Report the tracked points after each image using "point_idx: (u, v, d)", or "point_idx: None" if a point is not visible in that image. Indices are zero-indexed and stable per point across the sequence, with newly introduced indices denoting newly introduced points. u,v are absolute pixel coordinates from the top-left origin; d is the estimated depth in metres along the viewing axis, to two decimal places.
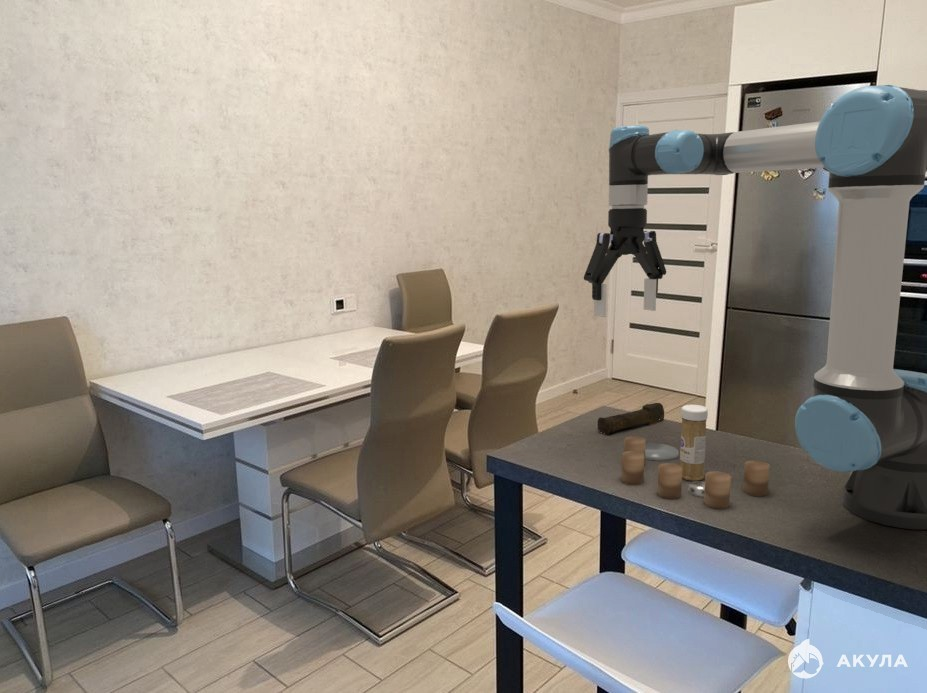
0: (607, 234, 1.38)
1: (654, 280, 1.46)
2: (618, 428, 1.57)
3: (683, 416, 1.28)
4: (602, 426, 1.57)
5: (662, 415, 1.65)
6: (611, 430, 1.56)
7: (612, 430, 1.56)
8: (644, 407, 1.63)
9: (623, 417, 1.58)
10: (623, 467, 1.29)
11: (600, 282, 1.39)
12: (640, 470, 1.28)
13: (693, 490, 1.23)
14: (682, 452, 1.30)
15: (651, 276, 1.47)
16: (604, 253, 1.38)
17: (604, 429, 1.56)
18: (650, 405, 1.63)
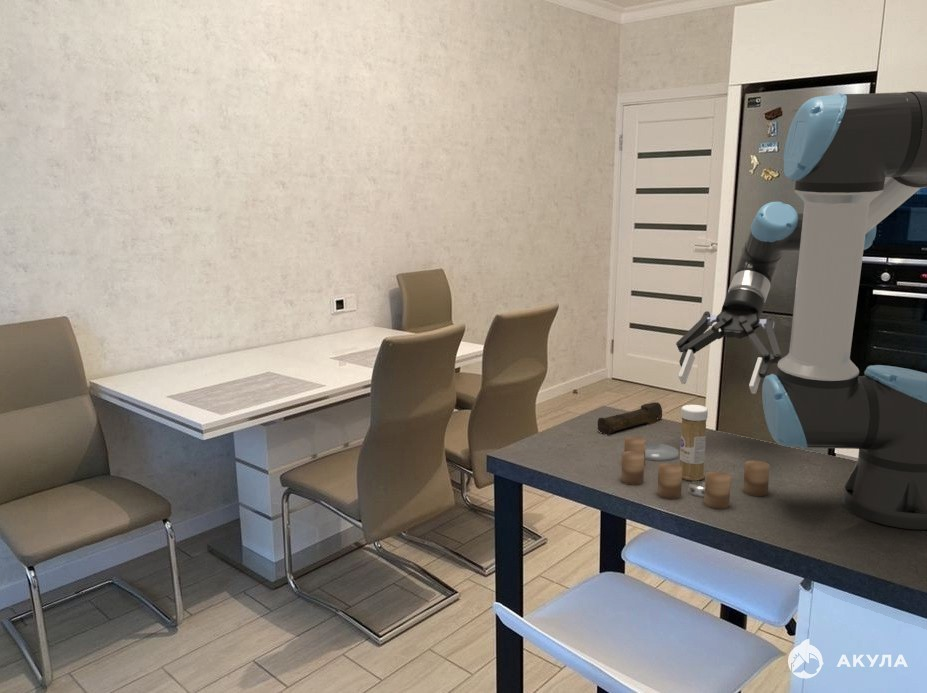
0: (706, 312, 1.46)
1: (759, 358, 1.34)
2: (618, 428, 1.57)
3: (683, 416, 1.28)
4: (603, 427, 1.56)
5: (660, 414, 1.66)
6: (611, 430, 1.56)
7: (612, 430, 1.56)
8: (643, 407, 1.63)
9: (623, 417, 1.58)
10: (623, 467, 1.29)
11: (685, 347, 1.43)
12: (640, 470, 1.28)
13: (693, 490, 1.23)
14: (682, 452, 1.30)
15: None
16: (698, 326, 1.45)
17: (604, 429, 1.56)
18: (648, 405, 1.64)
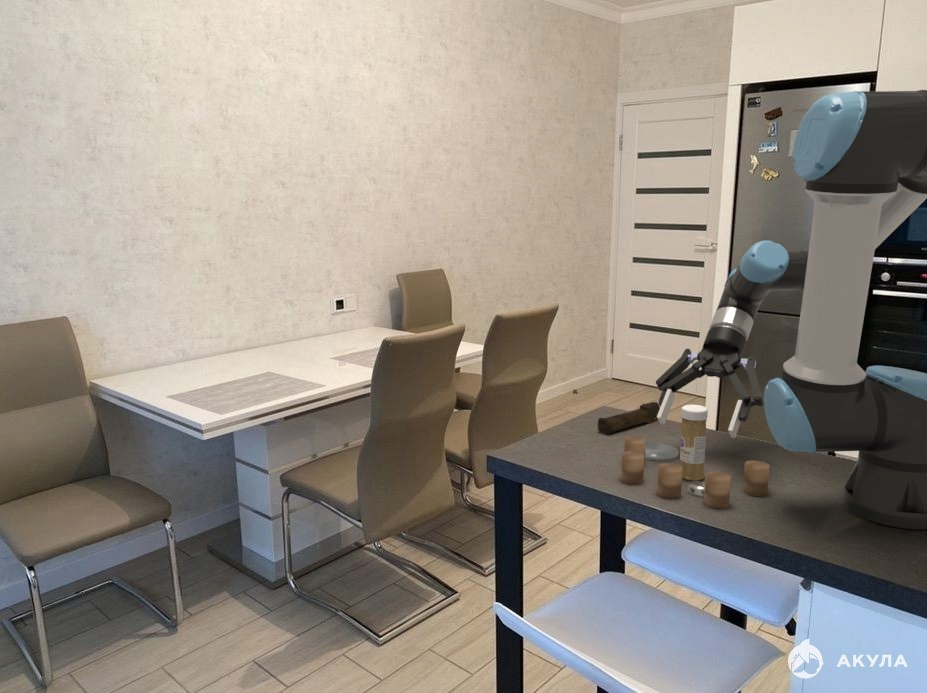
0: (687, 349, 1.42)
1: (739, 400, 1.29)
2: (618, 428, 1.57)
3: (683, 416, 1.28)
4: (603, 427, 1.56)
5: None
6: (612, 430, 1.56)
7: (613, 430, 1.56)
8: (642, 407, 1.63)
9: (623, 417, 1.58)
10: (623, 467, 1.29)
11: (664, 386, 1.39)
12: (640, 470, 1.28)
13: (693, 490, 1.23)
14: (682, 452, 1.30)
15: None
16: (678, 364, 1.41)
17: (605, 429, 1.56)
18: (647, 404, 1.64)
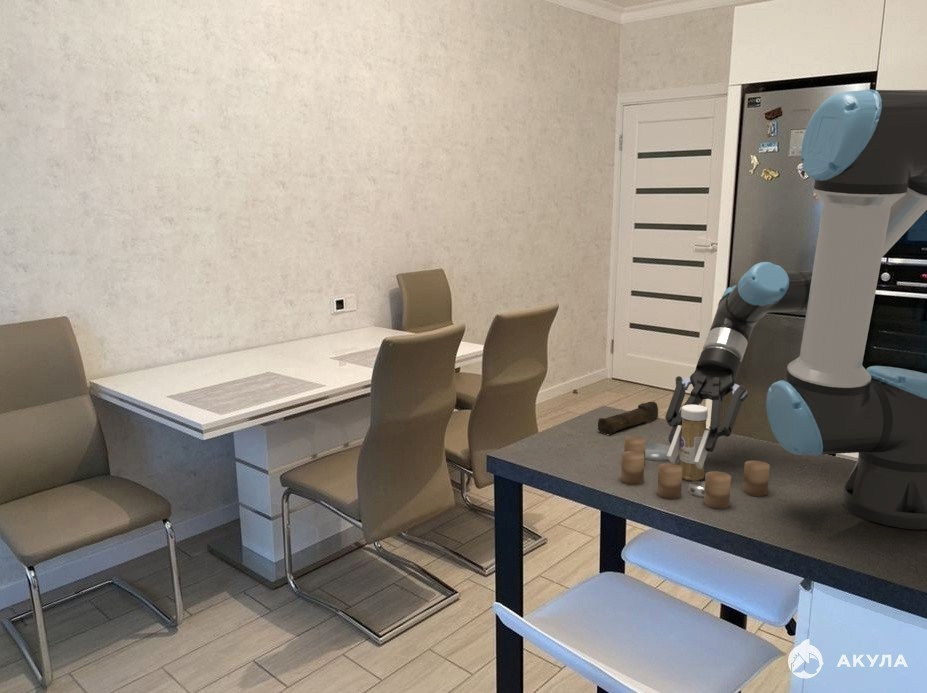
0: (677, 377, 1.37)
1: (705, 431, 1.28)
2: (618, 428, 1.57)
3: (683, 416, 1.28)
4: (603, 427, 1.56)
5: (656, 414, 1.67)
6: (612, 430, 1.56)
7: (613, 430, 1.56)
8: (640, 406, 1.64)
9: (623, 417, 1.58)
10: (623, 467, 1.29)
11: (675, 423, 1.32)
12: (640, 470, 1.28)
13: (693, 490, 1.23)
14: (682, 452, 1.30)
15: None
16: (677, 393, 1.35)
17: (605, 430, 1.56)
18: (645, 404, 1.65)
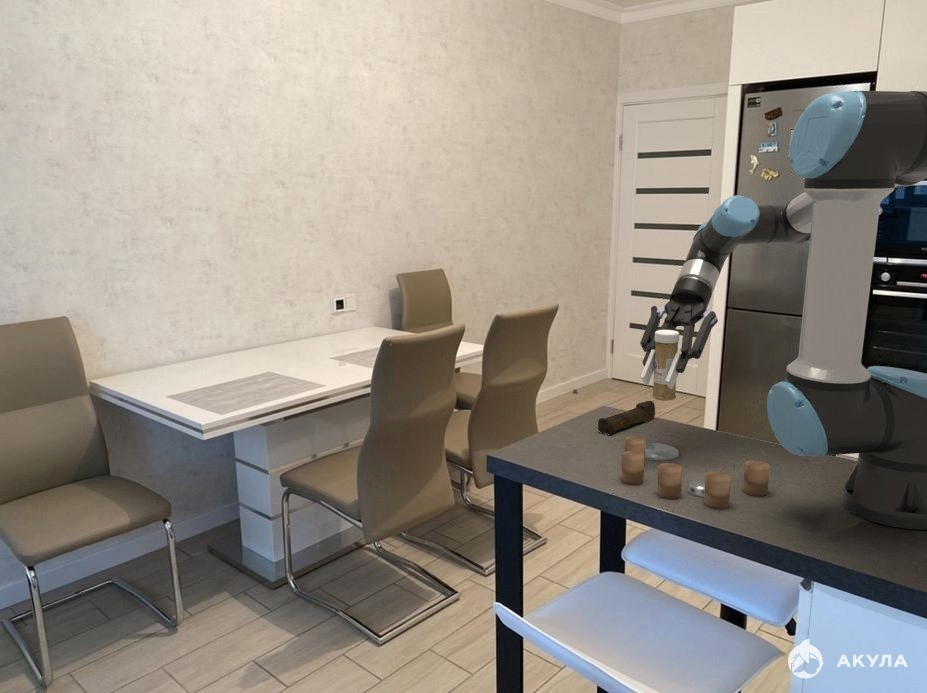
0: (653, 306, 1.45)
1: (677, 353, 1.36)
2: (618, 428, 1.57)
3: (656, 339, 1.36)
4: (604, 427, 1.56)
5: (653, 413, 1.67)
6: (613, 430, 1.56)
7: (614, 430, 1.56)
8: (638, 406, 1.64)
9: (622, 417, 1.58)
10: (623, 467, 1.29)
11: (649, 347, 1.40)
12: (640, 470, 1.28)
13: (693, 490, 1.23)
14: (655, 374, 1.38)
15: None
16: (652, 321, 1.43)
17: (606, 430, 1.56)
18: (643, 403, 1.65)
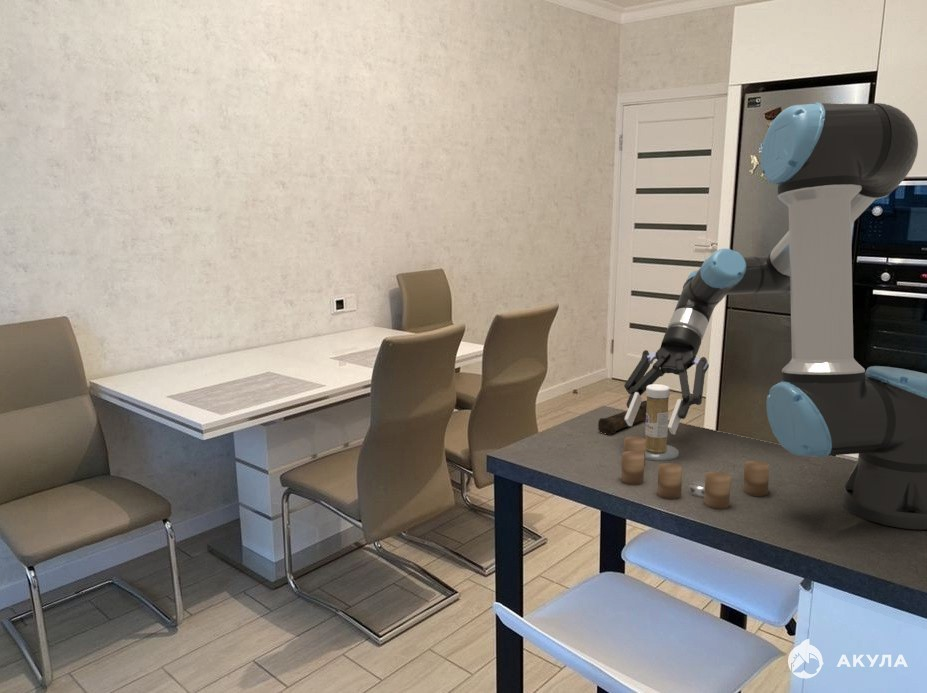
0: (645, 351, 1.50)
1: (678, 400, 1.39)
2: (619, 427, 1.57)
3: (647, 394, 1.41)
4: (605, 427, 1.56)
5: None
6: (613, 430, 1.56)
7: (614, 430, 1.56)
8: None
9: (622, 416, 1.58)
10: (623, 467, 1.29)
11: (633, 390, 1.46)
12: (640, 470, 1.28)
13: (693, 490, 1.23)
14: (647, 427, 1.42)
15: None
16: (640, 365, 1.48)
17: (607, 430, 1.56)
18: (641, 403, 1.65)
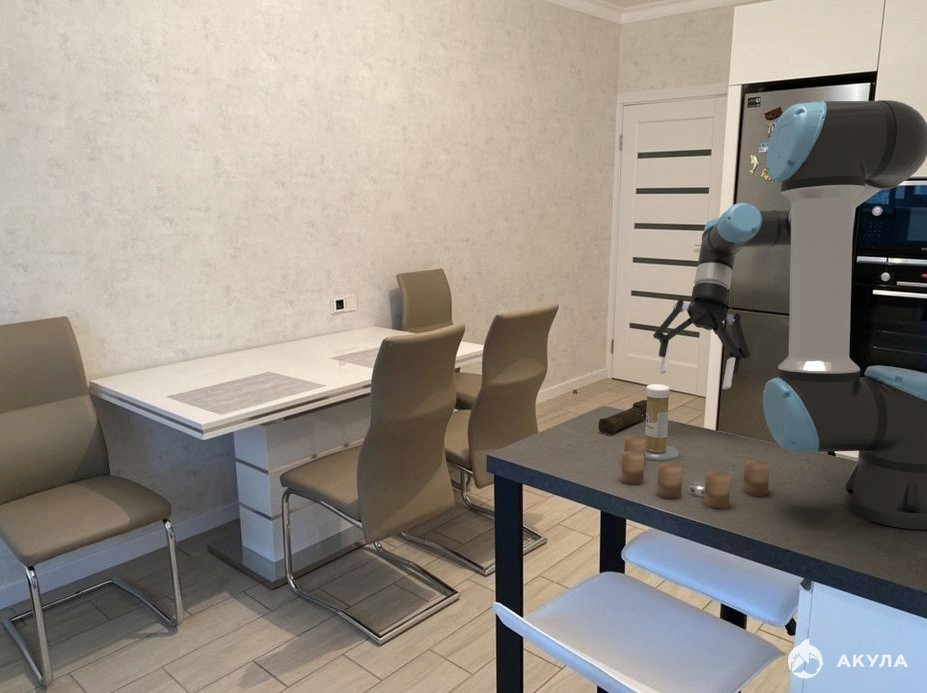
0: (680, 300, 1.53)
1: (732, 358, 1.50)
2: (619, 427, 1.57)
3: (647, 394, 1.41)
4: (605, 427, 1.56)
5: None
6: (614, 430, 1.56)
7: (614, 430, 1.56)
8: (635, 405, 1.65)
9: (622, 416, 1.59)
10: (623, 467, 1.29)
11: (665, 338, 1.50)
12: (640, 470, 1.28)
13: (693, 490, 1.23)
14: (647, 427, 1.42)
15: (733, 357, 1.51)
16: (674, 315, 1.52)
17: (607, 430, 1.56)
18: (640, 403, 1.66)
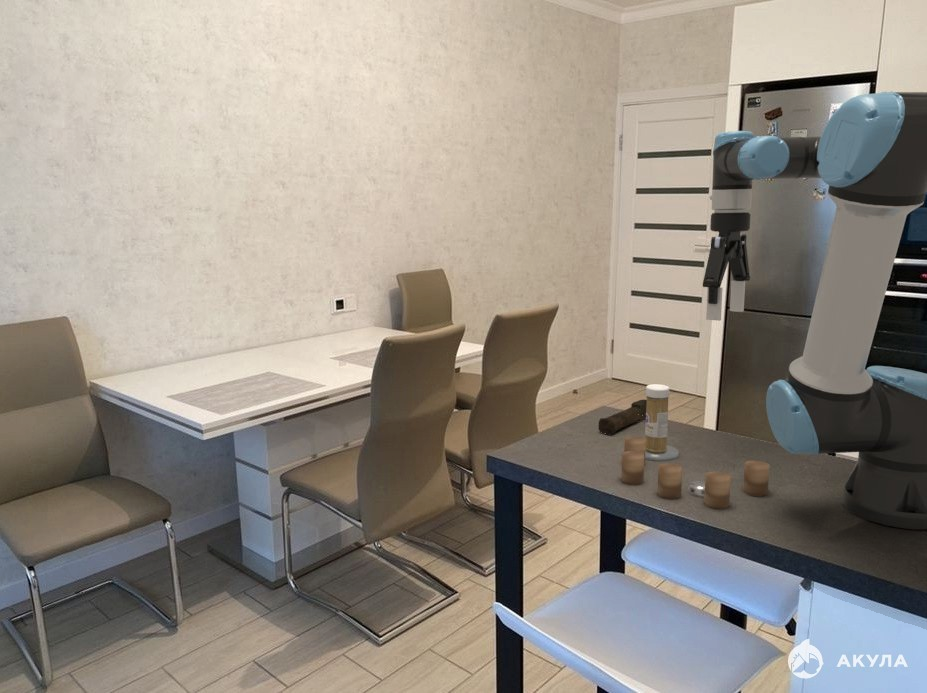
0: (724, 238, 1.38)
1: (744, 282, 1.50)
2: (619, 427, 1.58)
3: (647, 394, 1.41)
4: (605, 427, 1.56)
5: None
6: (614, 430, 1.56)
7: (615, 430, 1.56)
8: (634, 405, 1.65)
9: (622, 416, 1.59)
10: (623, 467, 1.29)
11: (719, 286, 1.39)
12: (640, 470, 1.28)
13: (693, 490, 1.23)
14: (647, 427, 1.42)
15: (738, 278, 1.51)
16: (722, 257, 1.39)
17: (608, 429, 1.56)
18: (638, 402, 1.66)
